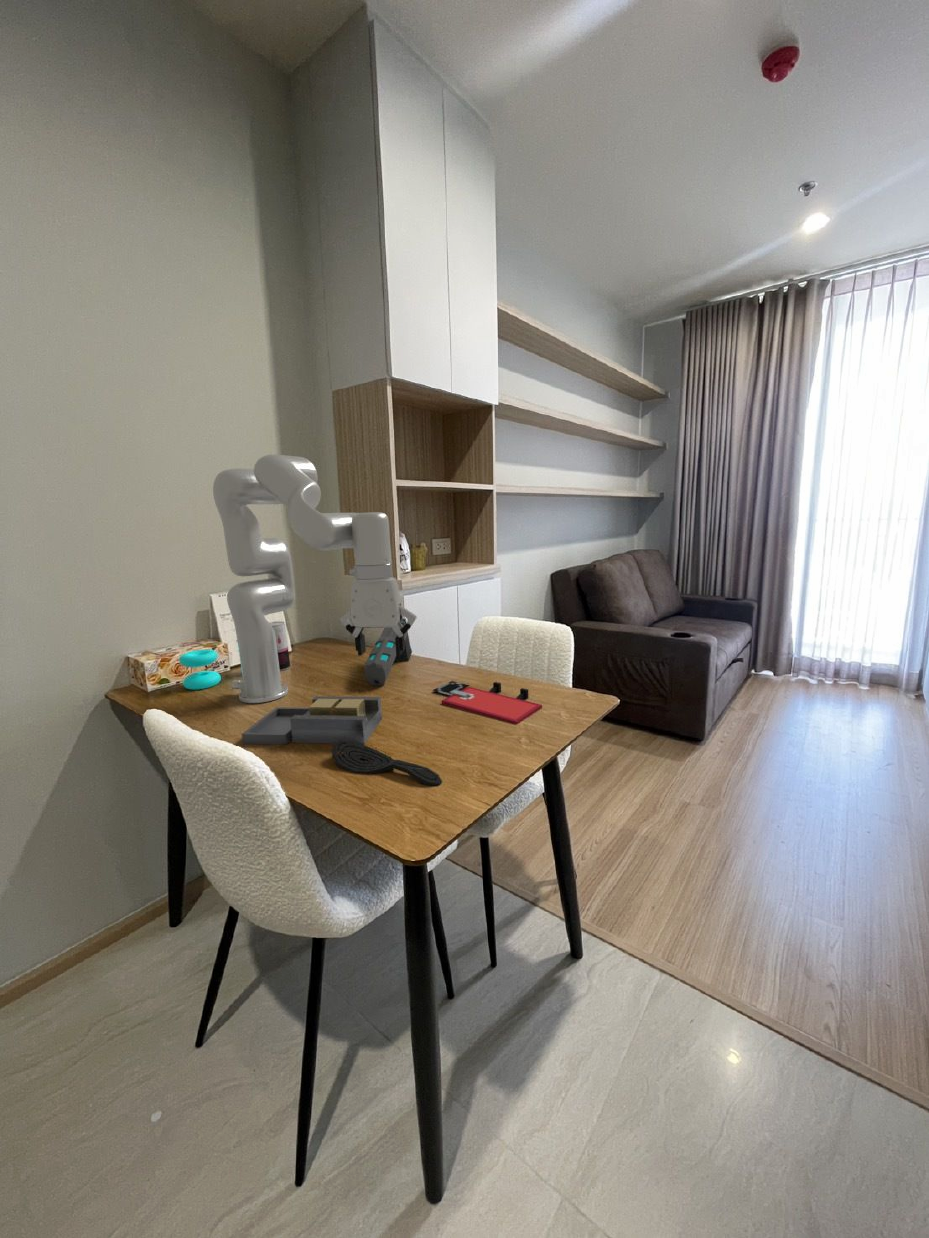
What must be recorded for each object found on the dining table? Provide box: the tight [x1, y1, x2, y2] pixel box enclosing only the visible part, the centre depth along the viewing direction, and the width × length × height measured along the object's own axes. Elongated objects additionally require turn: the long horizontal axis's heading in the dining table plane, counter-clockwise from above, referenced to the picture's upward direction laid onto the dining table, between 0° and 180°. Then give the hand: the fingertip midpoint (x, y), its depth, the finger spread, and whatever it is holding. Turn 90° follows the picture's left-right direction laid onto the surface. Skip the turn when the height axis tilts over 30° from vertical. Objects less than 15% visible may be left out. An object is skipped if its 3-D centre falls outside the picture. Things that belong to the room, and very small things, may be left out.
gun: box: [363, 618, 413, 687], centre depth 152 cm, size 7×29×15 cm, turn 172°
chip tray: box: [241, 706, 309, 745], centre depth 113 cm, size 10×15×2 cm, turn 173°
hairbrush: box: [331, 737, 443, 787], centre depth 93 cm, size 8×4×25 cm
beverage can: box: [269, 621, 291, 672], centre depth 158 cm, size 6×6×15 cm
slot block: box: [290, 695, 383, 745], centre depth 111 cm, size 16×13×6 cm
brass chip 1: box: [308, 699, 339, 716], centre depth 111 cm, size 5×5×4 cm
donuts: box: [178, 649, 222, 691], centre depth 146 cm, size 10×10×10 cm
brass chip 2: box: [335, 699, 366, 716], centre depth 110 cm, size 5×5×4 cm
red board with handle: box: [432, 680, 543, 725], centre depth 125 cm, size 30×3×15 cm
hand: (380, 653), depth 106 cm, fingers open, 7 cm apart
